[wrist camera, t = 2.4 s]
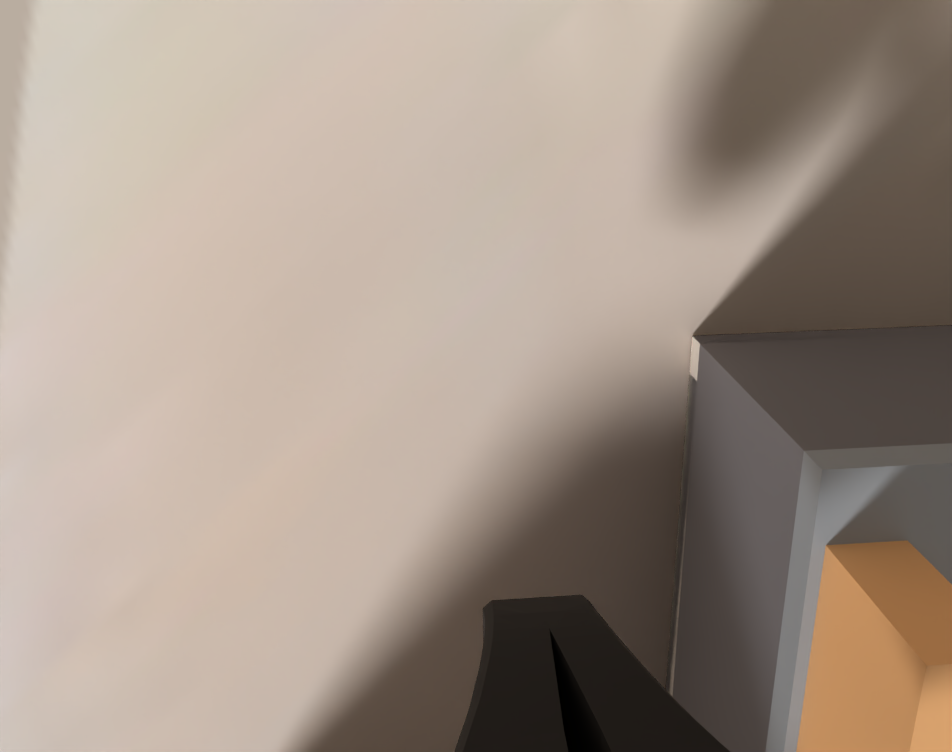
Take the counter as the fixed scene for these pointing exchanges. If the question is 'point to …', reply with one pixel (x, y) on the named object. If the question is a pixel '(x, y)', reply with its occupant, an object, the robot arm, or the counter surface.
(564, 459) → the counter surface
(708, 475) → the grey box
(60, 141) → the counter surface
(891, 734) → the box lid
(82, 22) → the counter surface
